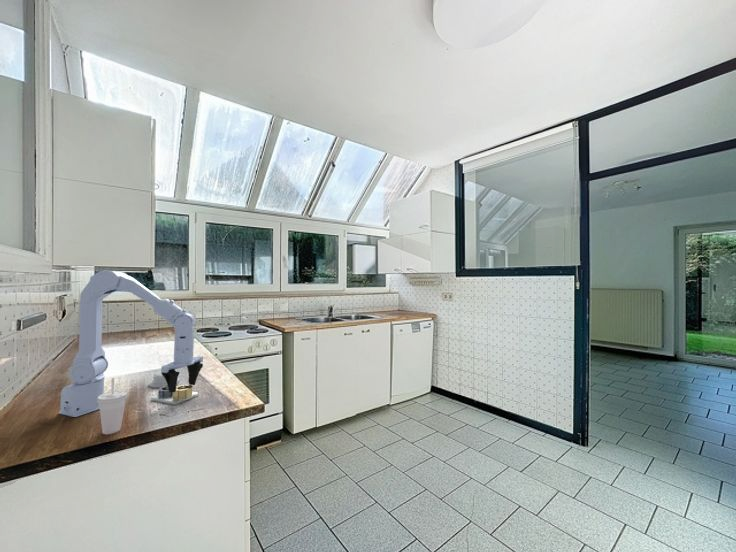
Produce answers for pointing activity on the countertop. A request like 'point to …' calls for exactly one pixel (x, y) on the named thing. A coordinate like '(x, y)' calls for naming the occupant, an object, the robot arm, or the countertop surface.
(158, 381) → the mechanical component
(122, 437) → the countertop surface
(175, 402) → the piston block
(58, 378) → the countertop surface
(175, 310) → the robot arm
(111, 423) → the smoothie
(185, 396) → the brass ring
